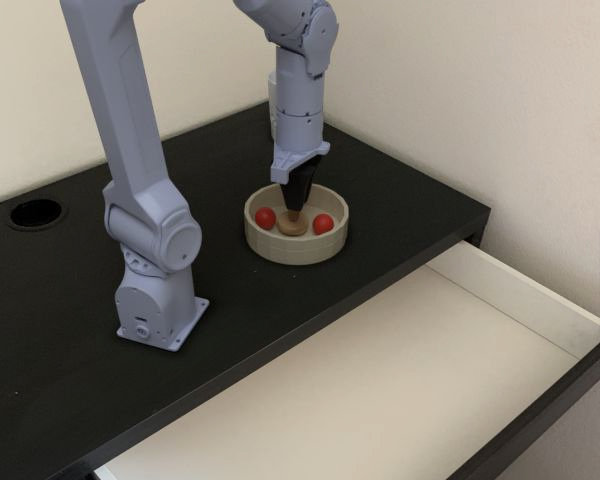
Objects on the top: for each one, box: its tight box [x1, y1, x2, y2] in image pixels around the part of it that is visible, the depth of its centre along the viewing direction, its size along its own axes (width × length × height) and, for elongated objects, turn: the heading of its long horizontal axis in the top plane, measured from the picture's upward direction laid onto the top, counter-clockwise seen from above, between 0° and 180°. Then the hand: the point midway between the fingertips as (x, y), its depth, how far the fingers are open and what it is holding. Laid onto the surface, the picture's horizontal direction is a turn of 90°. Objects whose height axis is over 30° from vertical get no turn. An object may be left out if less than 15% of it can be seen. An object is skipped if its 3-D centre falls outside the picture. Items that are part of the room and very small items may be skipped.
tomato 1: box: [255, 207, 276, 229], centre depth 92 cm, size 3×3×3 cm
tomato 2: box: [312, 214, 334, 235], centre depth 91 cm, size 3×3×3 cm
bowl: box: [243, 182, 350, 266], centre depth 92 cm, size 14×14×4 cm
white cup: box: [267, 68, 276, 141], centre depth 108 cm, size 8×8×10 cm
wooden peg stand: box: [277, 209, 309, 235], centre depth 90 cm, size 4×4×8 cm
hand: (296, 205), depth 90 cm, fingers closed on wooden peg stand
